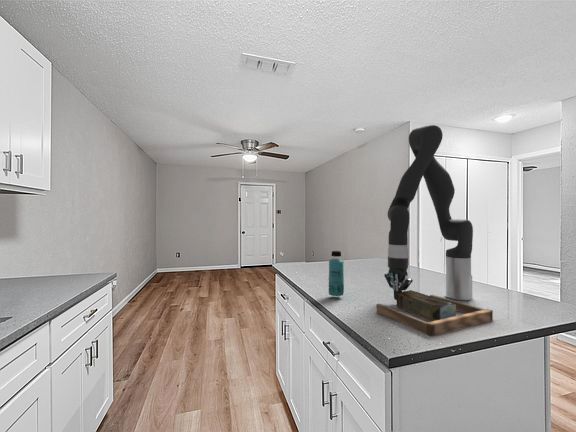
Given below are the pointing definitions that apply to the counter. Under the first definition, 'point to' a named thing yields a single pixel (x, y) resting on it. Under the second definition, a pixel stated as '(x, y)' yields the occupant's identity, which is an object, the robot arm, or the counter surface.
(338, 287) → the beverage bottle
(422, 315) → the beverage carton
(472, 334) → the counter surface
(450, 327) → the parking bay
